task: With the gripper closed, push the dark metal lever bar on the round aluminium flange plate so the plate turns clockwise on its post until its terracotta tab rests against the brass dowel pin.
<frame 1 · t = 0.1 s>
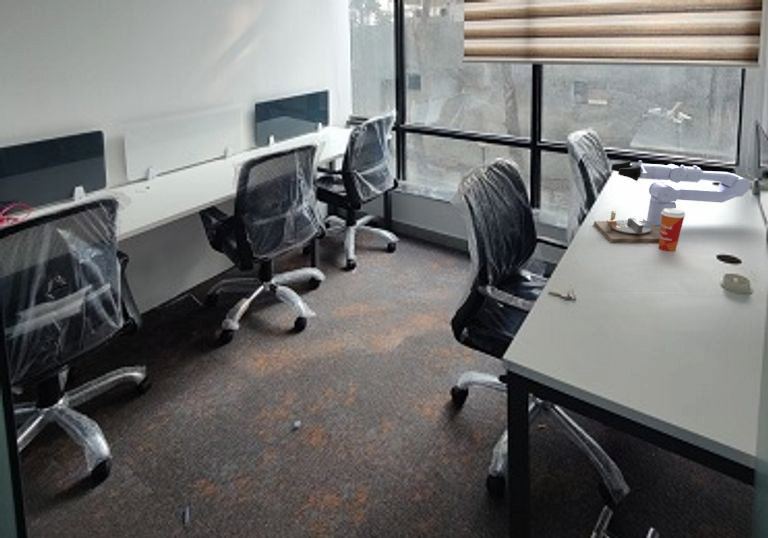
hand: (615, 169, 236), 22 cm above the table, tool horizontal, fingers open, 7 cm apart
flange plate: (629, 223, 230), point 4 cm above the table, hinge at 0.0°
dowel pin: (611, 227, 239), resting on base board
base board: (630, 233, 233), on the table
paper cup: (667, 249, 217), on the table
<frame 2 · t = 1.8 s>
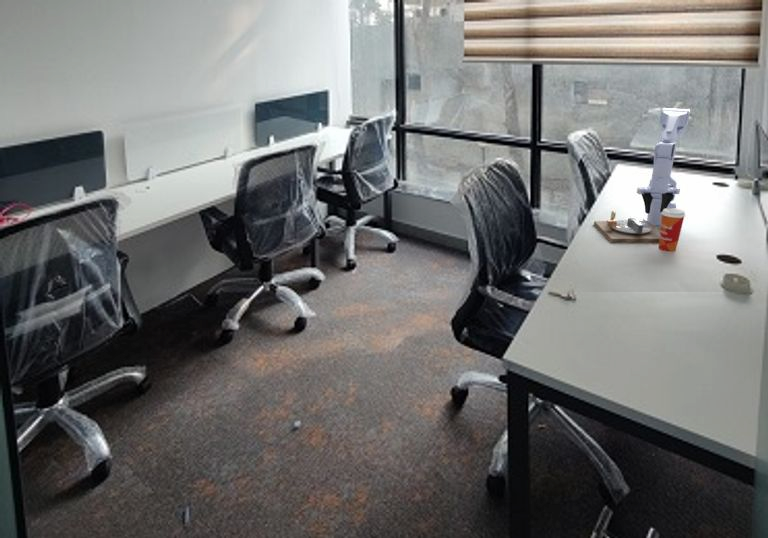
hand: (654, 212, 225), 9 cm above the table, tool pointing down, fingers open, 5 cm apart
nothing on the table moved.
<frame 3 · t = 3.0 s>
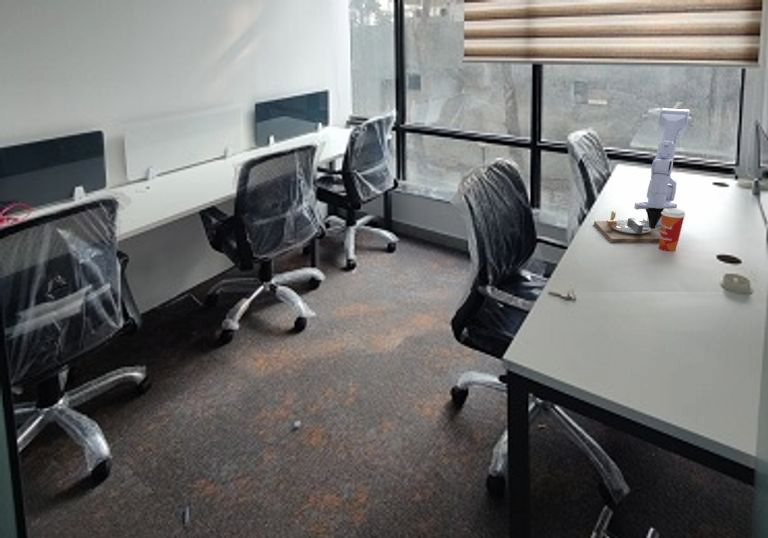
hand: (652, 227, 227), 4 cm above the table, tool pointing down, fingers closed
nothing on the table moved.
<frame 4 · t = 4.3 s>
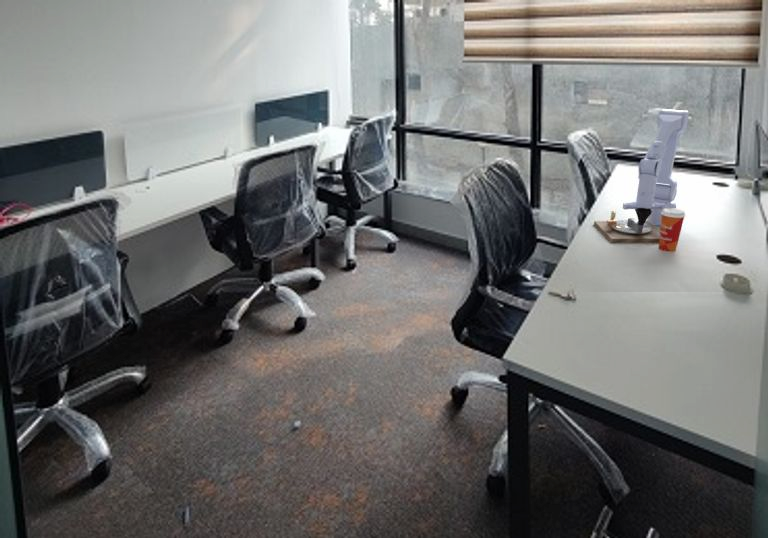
hand: (640, 227, 227), 4 cm above the table, tool pointing down, fingers closed, pressing on flange plate
flange plate: (629, 223, 230), point 4 cm above the table, hinge at 0.0°, touching gripper
everything else where it was.
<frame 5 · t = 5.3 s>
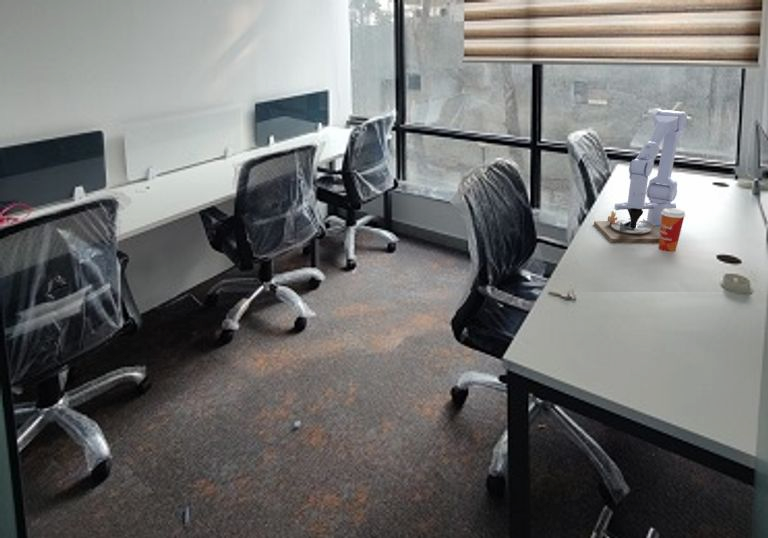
hand: (632, 228, 227), 4 cm above the table, tool pointing down, fingers closed, pressing on flange plate
flange plate: (628, 223, 231), point 4 cm above the table, hinge at 42.8°, touching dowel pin, gripper
everything else where it was.
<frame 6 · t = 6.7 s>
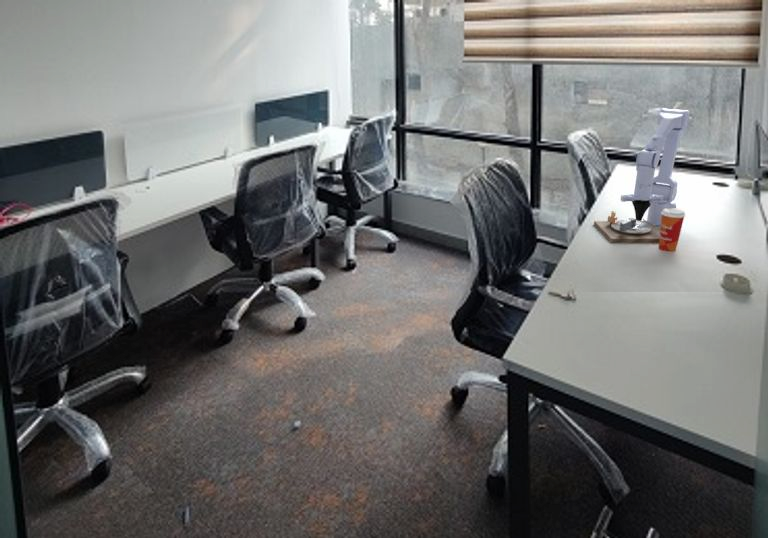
hand: (638, 220, 226), 7 cm above the table, tool pointing down, fingers closed
flange plate: (628, 223, 231), point 4 cm above the table, hinge at 42.8°, touching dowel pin
everything else where it was.
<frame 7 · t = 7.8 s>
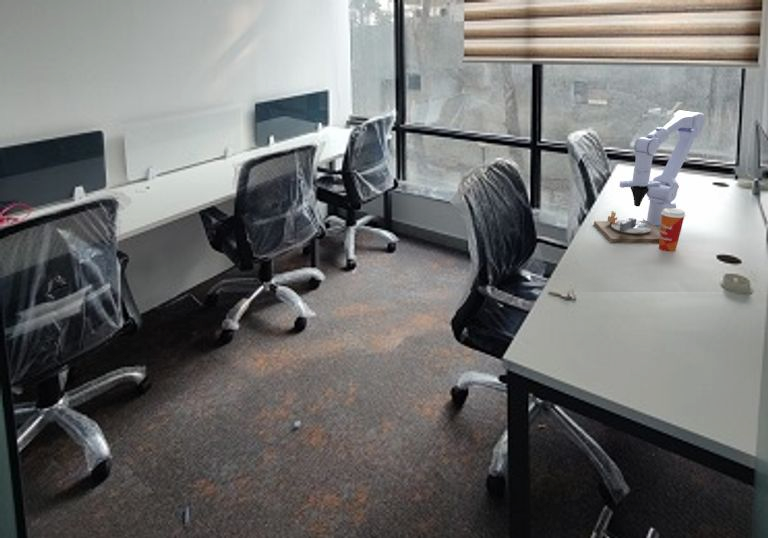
hand: (636, 205, 234), 9 cm above the table, tool pointing down, fingers closed
nothing on the table moved.
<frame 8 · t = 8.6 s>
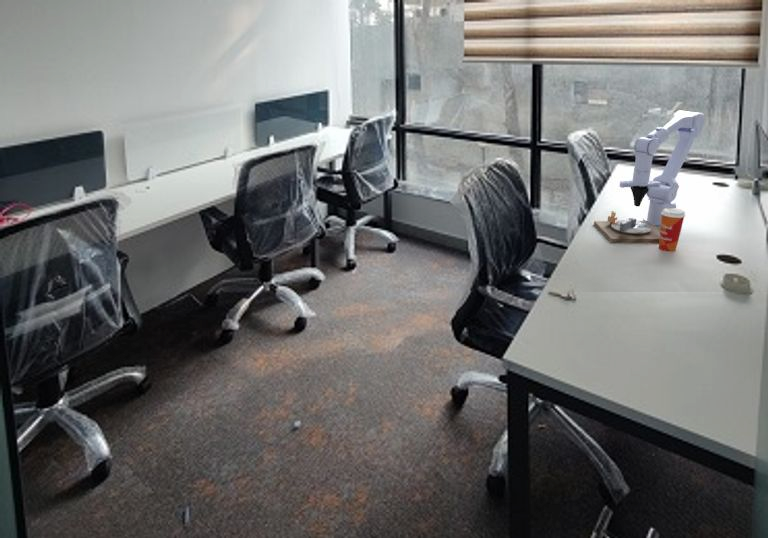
hand: (636, 205, 234), 9 cm above the table, tool pointing down, fingers closed
nothing on the table moved.
at the end: flange plate at +43° (first picture: +0°); paper cup moved 0.2 cm from its start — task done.
